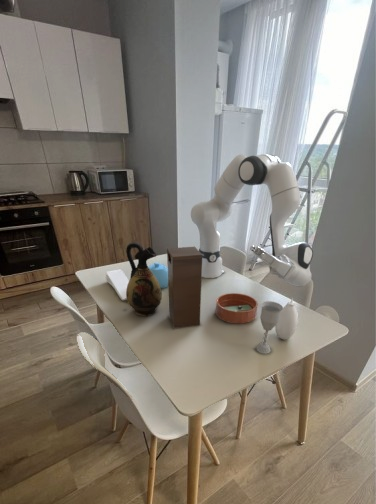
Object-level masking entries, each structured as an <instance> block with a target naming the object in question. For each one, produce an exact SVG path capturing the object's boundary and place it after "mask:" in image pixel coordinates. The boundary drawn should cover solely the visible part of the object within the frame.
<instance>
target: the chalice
mask: <svg viewBox="0 0 376 504" xmlns="http://www.w3.org/2000/svg"><path fill="white" fill-rule="evenodd" d="M260 307H261V311H260V317H259V318H260V323H261V326H262V329H263V330H265V331H264V333H263V335H264V337H262V339H263V341H262V342H260V343H259V344H258V345H257V347H256V351H257V352H258V353H260V354H265V355H267V354H269V353H271V346H270V345H269V343H268V342H267V341H268V340H269V338H268V336H270V334H269V332H270V331H272V330H273V329H275V325H276V324H277V322H278V321H279V316H280V312H281V310H282V309H283V308H284V306H283V305H282V304H280V303H278V302H275V301H271V300H270V301H268V300H267V301H263V302H261V303H260Z"/></svg>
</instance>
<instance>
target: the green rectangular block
mask: <svg viewBox="0 0 376 504" xmlns="http://www.w3.org/2000/svg"><path fill="white" fill-rule="evenodd" d="M223 308H225V309H228V310H232V311H248V310H251V309H252V308H251V307H250V306H249V305H240V306H232V307H223Z"/></svg>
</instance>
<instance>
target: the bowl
mask: <svg viewBox="0 0 376 504" xmlns="http://www.w3.org/2000/svg"><path fill="white" fill-rule="evenodd" d="M240 305H249V306H250V307H251V308H252V309H251V310H248V311H232V310H228V309H225V308H223V307H232V306H240ZM258 307H259V303H258V301H257V300H256V298H254V297H253V296H250V295H248V294H245V293H239V292H236V293H235V292H231V293H225V294H222V295H220V296H218V297H217V298H216V302H215V315H216V316H217V317H218V318H219V319H220V320H222V321H224V322H227V323H230V324H247V323H249V322H251V321H253V320H254V319H255V320H256V317H257V312H258Z"/></svg>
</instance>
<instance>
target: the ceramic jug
mask: <svg viewBox="0 0 376 504" xmlns="http://www.w3.org/2000/svg"><path fill="white" fill-rule="evenodd" d="M135 248H136V249H137V250H138V251H137V252H136V254H134V258H133V255H132V249H135ZM125 253H126V257H127V260H128V262H129V264H130V267H131V272H130V278H129V279H128V280H129V283H128V286H127V289H126V298H127V300H126V301H127V303H128V305H129V306H130V307H131V308H132V309H133V311H134V313H136V315H138V316H141V317H149V316H151V315H154V314H155V313H156V312H157V311H156V309H157V308H158V307H159V306H160V304H161V302H162V299H163V292H162V289H161V288H160V285H159V282H158V280H157V279H156V277H155V276H154V274H153V273H152V271H151V270H150V269H149V265H148V263H147V261H148V260H151V259H152V258H155V257H157V253H156V252H155V250H154V249H153V248H152V247H150V246H148V247H146V248H145V249H144V248H143V245H142V244H140V243H139V242H136V241H133V242H130V243H129V244H127V246H126V250H125ZM134 259H135V260H137V261H138V263H137V265H136V264H135V261H134Z"/></svg>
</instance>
